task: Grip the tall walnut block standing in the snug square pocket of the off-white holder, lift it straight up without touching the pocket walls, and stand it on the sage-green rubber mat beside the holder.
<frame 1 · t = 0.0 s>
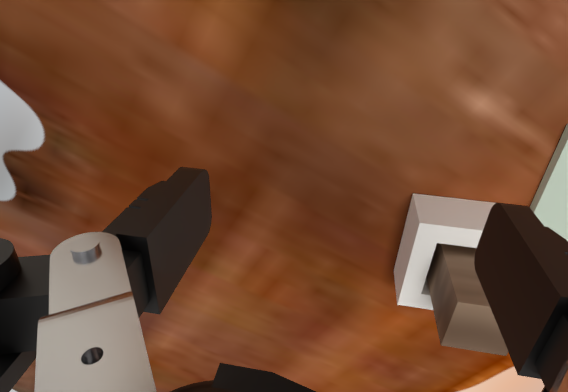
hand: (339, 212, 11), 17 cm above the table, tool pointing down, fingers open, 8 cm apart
pocket holder: (452, 240, 31), on the table
walnut block: (465, 278, 27), in the pocket holder
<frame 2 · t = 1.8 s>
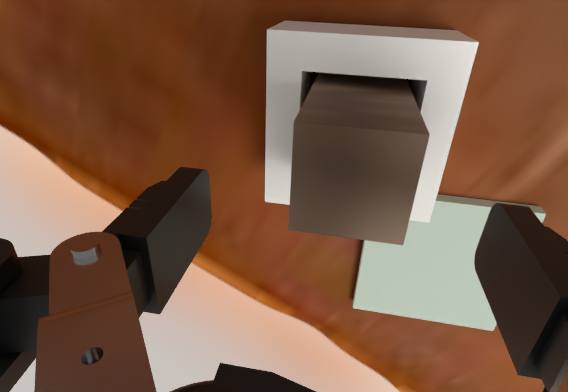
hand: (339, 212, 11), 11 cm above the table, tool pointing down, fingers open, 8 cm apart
pocket holder: (357, 108, 20), on the table
walnut block: (355, 138, 16), in the pocket holder
green mat: (435, 258, 24), on the table
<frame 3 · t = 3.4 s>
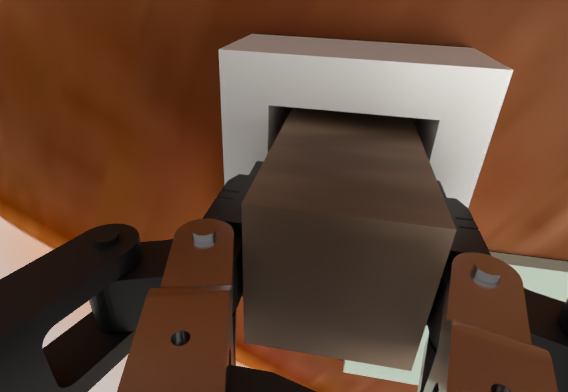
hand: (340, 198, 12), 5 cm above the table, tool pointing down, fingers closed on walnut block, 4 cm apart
pocket holder: (345, 143, 16), on the table
walnut block: (341, 194, 12), in the pocket holder, touching gripper
green mat: (441, 318, 19), on the table
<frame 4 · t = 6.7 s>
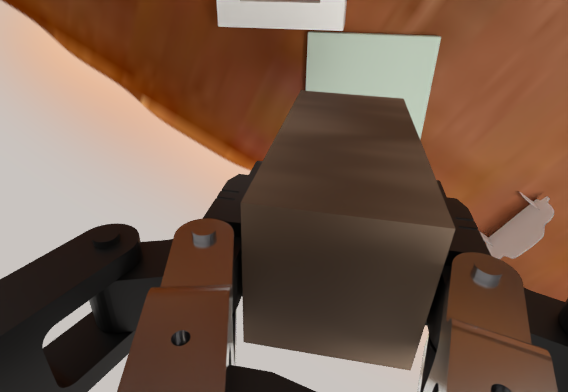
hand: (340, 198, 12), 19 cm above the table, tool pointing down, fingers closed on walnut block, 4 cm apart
grey eared piece: (549, 183, 30), on the table
walnut block: (341, 193, 12), point 19 cm above the table, touching gripper
green mat: (364, 97, 29), on the table
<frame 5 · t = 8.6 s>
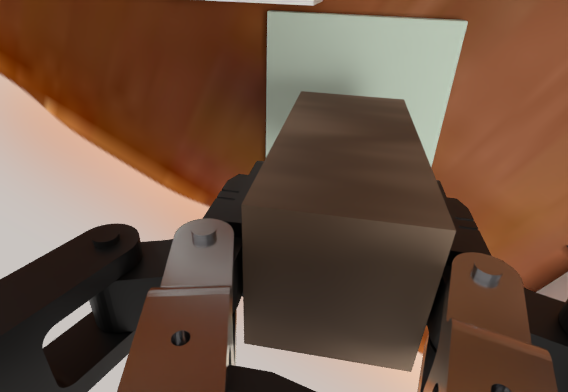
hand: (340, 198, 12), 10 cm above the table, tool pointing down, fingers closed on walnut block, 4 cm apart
walnut block: (341, 194, 12), point 10 cm above the table, touching gripper
green mat: (352, 108, 20), on the table
when the fingers open (7 cm above the table, at t = 10.0 s): walnut block drops 1 cm, resting on green mat.
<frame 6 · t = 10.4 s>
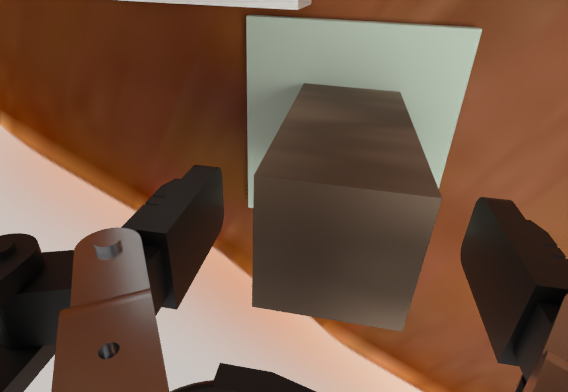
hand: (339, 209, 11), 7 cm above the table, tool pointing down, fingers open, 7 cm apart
walnut block: (341, 177, 13), on the green mat, point 5 cm above the table
green mat: (346, 127, 17), on the table
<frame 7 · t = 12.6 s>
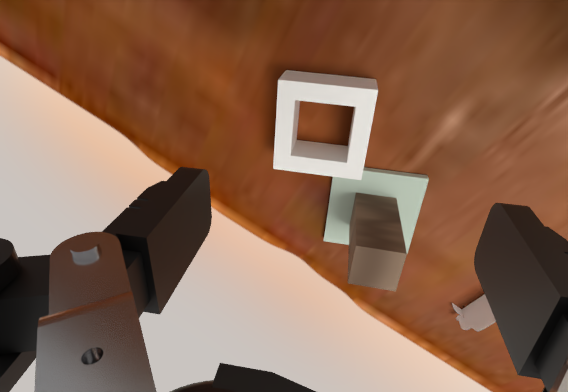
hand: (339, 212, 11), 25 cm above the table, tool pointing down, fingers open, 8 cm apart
pocket holder: (325, 118, 36), on the table
grey eared piece: (506, 274, 41), on the table
walnut block: (373, 237, 35), on the green mat, point 5 cm above the table
green mat: (372, 208, 39), on the table
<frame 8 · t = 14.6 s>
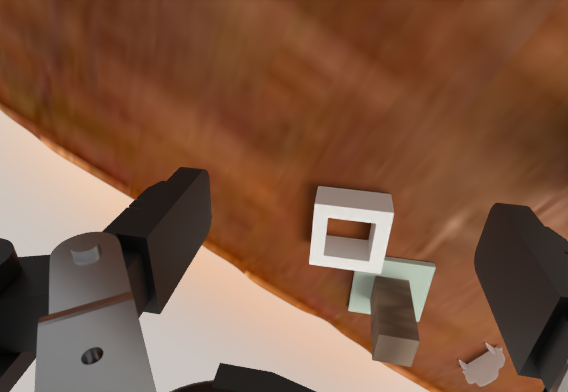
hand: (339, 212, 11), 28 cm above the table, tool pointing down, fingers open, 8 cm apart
pocket holder: (349, 220, 44), on the table
grey eared piece: (504, 337, 49), on the table
walnut block: (391, 317, 43), on the green mat, point 5 cm above the table
green mat: (388, 285, 47), on the table
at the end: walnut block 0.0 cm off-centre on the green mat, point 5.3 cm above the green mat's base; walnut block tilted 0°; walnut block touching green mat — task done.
